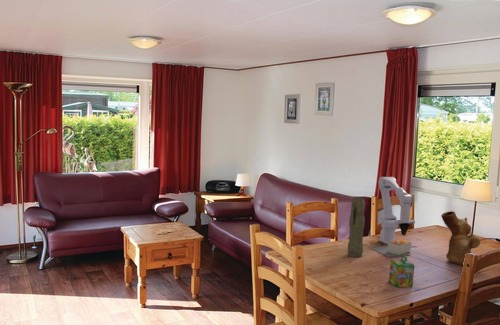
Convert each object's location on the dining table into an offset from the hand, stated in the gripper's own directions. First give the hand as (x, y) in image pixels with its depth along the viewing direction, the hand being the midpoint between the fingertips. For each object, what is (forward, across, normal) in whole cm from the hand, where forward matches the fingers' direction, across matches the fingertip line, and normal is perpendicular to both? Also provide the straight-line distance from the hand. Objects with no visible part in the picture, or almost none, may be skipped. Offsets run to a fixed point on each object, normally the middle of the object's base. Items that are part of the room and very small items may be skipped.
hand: (403, 234), depth 290 cm
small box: (+6, +1, -1) cm, 7 cm away
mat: (+10, -10, 0) cm, 14 cm away
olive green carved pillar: (+10, -36, -2) cm, 37 cm away
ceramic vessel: (+10, +17, -28) cm, 34 cm away
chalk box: (+10, -39, -49) cm, 64 cm away
